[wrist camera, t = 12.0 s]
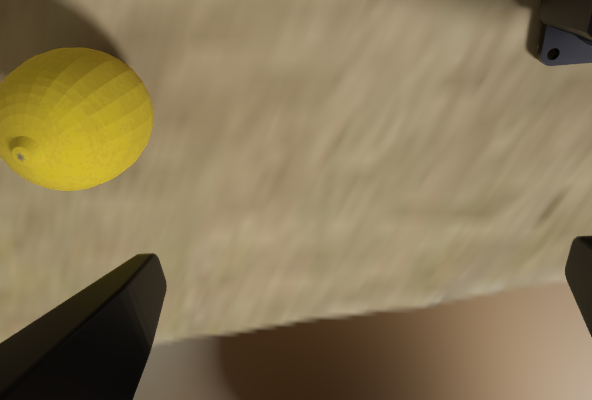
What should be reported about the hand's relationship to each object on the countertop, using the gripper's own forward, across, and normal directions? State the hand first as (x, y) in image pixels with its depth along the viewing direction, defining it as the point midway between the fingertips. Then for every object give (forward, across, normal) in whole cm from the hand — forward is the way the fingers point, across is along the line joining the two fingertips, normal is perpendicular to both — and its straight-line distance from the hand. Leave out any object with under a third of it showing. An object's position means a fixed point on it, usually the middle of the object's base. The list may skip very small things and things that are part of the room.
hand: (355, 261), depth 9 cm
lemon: (+13, +11, -1) cm, 17 cm away
